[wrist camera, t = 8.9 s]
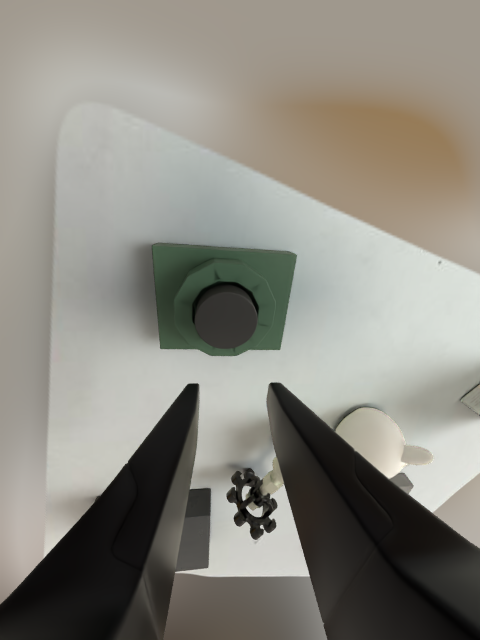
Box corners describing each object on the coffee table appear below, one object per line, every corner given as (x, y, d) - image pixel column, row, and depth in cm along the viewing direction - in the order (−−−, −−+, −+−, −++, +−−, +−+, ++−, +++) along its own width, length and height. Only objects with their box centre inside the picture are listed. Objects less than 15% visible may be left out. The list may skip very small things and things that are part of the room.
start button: (196, 336, 16) (194, 349, 15) (196, 282, 15) (194, 290, 13) (250, 337, 17) (254, 349, 15) (256, 285, 15) (261, 293, 13)
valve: (284, 401, 24) (224, 466, 28) (307, 462, 18) (227, 534, 22) (326, 421, 26) (266, 479, 30) (360, 482, 20) (279, 545, 24)
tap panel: (106, 551, 33) (96, 582, 30) (79, 476, 26) (63, 508, 23) (208, 541, 35) (208, 569, 32) (211, 468, 28) (211, 497, 25)
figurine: (352, 451, 29) (387, 511, 23) (317, 436, 27) (346, 498, 21) (399, 411, 27) (451, 467, 21) (364, 392, 25) (412, 447, 19)
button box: (164, 338, 19) (154, 362, 16) (157, 242, 16) (143, 248, 13) (275, 340, 21) (286, 362, 18) (289, 251, 17) (306, 259, 14)
